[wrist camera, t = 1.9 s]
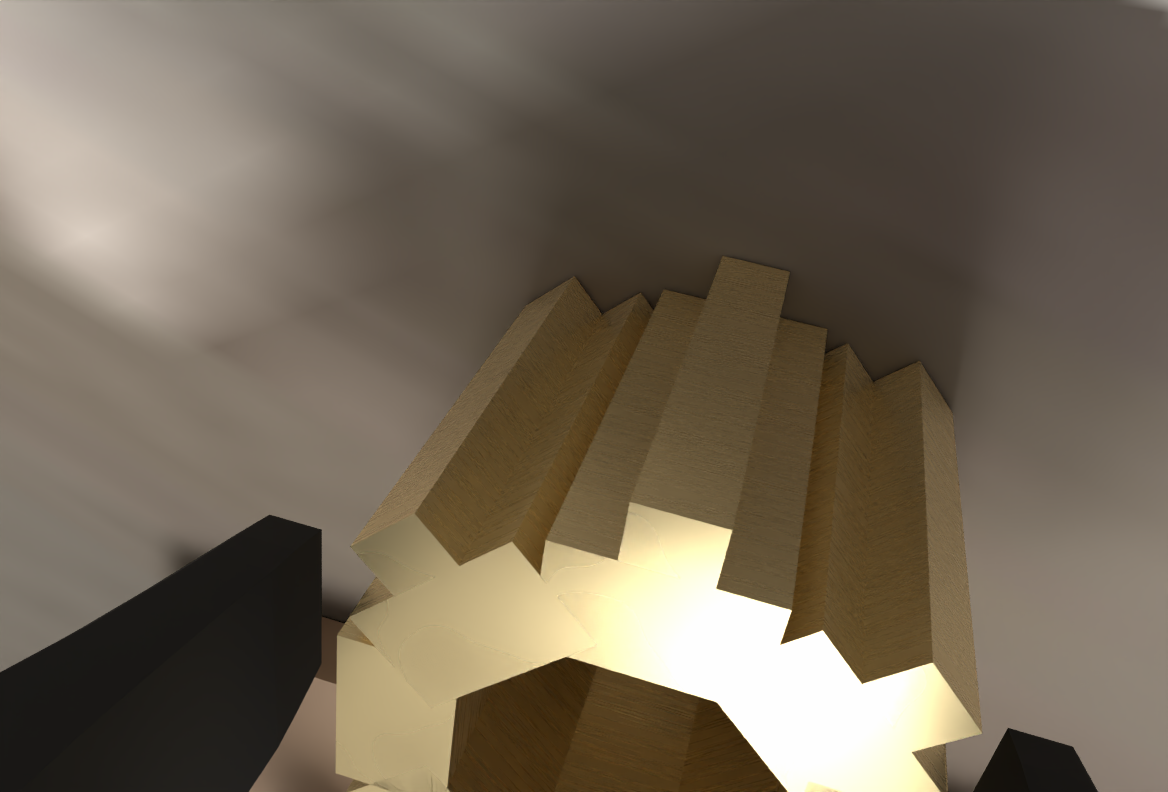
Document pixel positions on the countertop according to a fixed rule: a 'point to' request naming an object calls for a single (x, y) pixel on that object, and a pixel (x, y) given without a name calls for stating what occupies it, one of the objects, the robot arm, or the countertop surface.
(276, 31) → the countertop surface
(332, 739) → the gear board
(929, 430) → the brass gear
